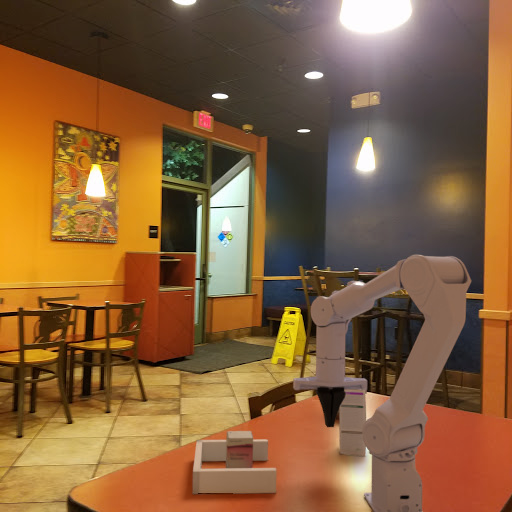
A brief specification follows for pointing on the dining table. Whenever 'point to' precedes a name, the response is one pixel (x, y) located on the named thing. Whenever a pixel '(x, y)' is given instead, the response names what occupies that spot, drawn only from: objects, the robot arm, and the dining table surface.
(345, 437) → the syrup box
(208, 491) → the u-shaped bracket
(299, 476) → the dining table surface
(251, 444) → the small box
